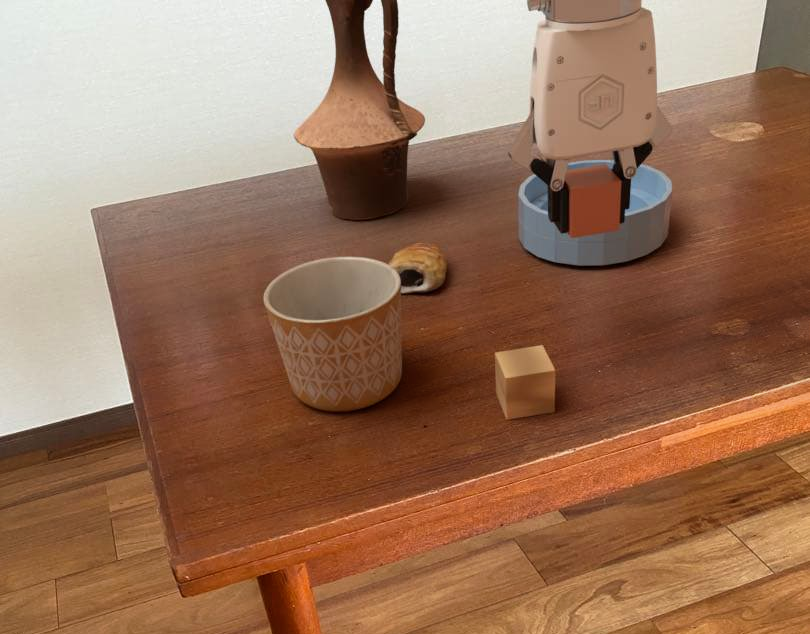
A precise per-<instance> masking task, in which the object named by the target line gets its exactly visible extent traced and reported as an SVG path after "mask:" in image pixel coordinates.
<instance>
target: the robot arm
mask: <svg viewBox="0 0 810 634" xmlns="http://www.w3.org/2000/svg"><path fill="white" fill-rule="evenodd" d="M642 1H643V0H526V6H527V10H528V11H529V12H532V11H537V12H542V14H543V15H544V17H545V19H541V20H539V21H538V23H537V27H536V32H535V36H534V37H535V38H534V45H533V51H532V61H531V70H530V71H531V73H530V84H529V85H530V86H529V103H528V106H529V107H528V116H527V118H526V120H525V122H524V123H523V125H522V127H521V128H520V130H519V131H518V133H517V135H516V137H515V138H514V139H513V142H512V144H511V145H510V147H509V149H508V152H507V153H508V156H509V158H510V159H511V161H513V162H514V163H515V164H517V165H518V166H520V167H522V168H524V169H526V170H528V171H529V172H531V173H533V174H535V175H536V176H537V177H538V178H540V179H541V180H542V181H543V182H544V183H546V184H547V185H548V218H549V220H550V222H554V224H555V225H556V227H557V228H558V230H559V231H560V233H561V234H563V233H567V231H569V191H568V189H567V188H566V186H565V177H566V172H567V168H568V164H569V163H570V159H574V158H575V159H576V158H582V157H588V156H593V155H598V154H599V155H600V154H605V153H611V155H612V160H614V165H613V169H611V170H612V171H613V172H614V173H615V175H616V176H617V177H618V178H619V179H620V180H621V201H620V222H619V224H621V223H624V221H625V210H626V209H629V207H630V192H631V178H633V177H634V176H635V175H636V173H637V168H638V167H639V166H640V165H641V164H643V163H644V162H645V161H646V159H647V158H649V156H650V155H651V154H652V152H653V151H654V149H655V148H657V147H658V146H659V145H660V144H662V142H664V141H665V140H666V139H667V138H668V137H669V136H670V135H671V134H672V133H673V127H672V125H671V123H670V121H669V120H668V119H667V117H666V115H664V112H663V111H662V110H661V109H660V107H659V105H658V73H657V71H658V69H657V68H658V67H657V51H656V48H657V47H656V36H655V35H656V34H655V27H654V26H655V25H654V19H653V12H652V11H651V10H650V9H647V8H645V7H642V4H643V3H642ZM534 144H535V145H536V147H537V149H538V151H539V153H540V154H541V155H542V156H543V157H544V158H545V160H544V159H543V158H542V157H541V156H539V155H537V154H535V153H533V152H532V151H531V149H532V147H533V145H534Z"/></svg>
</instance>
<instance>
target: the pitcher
mask: <svg viewBox="0 0 810 634" xmlns="http://www.w3.org/2000/svg"><path fill="white" fill-rule="evenodd" d="M324 1H325V4H326V5H327V8H328V11H329V14H330V18H331V19H330V20H331V23H332V29H333V34H334V35H333V36H334V44H335V45H334V46H335V58H334V59H335V61H334V68H333V73H332V76H331V77H332V78H331V80H330V84H329V87H328V89H327V92H326V94H325V96H324V98H322V101H321V102H320V104H319V105H318V106H317V107H316V109H314V111H313V112H312V113H311V114H310V115H309V116H308V117H307V118H306V119H305V120H304V121H303V122H302V124H300V125H299V126H298V127H297V128H296V130H295V131H294V134H293V137H294V140H295V141H296V143H298V144H299V145H301V146H303V147H305V148H308V149H310V150H311V151H312V153H313V156H314V158H315V160H316V163H317V167H318V170H319V173H320V178H321V179H322V182H323V186H324V190H325V193H326V197H327V202H328V207H329V211H330V213H331V214H332V215H334V216H335V217H337V218H340V219H346V220H355V221H356V220H369V219H376V218H378V217H383V216H387V215H391V214H393V213H396V212H397V211H399V210H401V209H403V208H404V207H405V206H406V205H407V203H408V201H409V194H408V155H409V154H408V152H409V144H410V141H411V140H413V139H414V138H415V137H416V136H418V132H419V131H420V130H421V129H423V127H424V125H425V123H426V118H425V117H426V116H425V115H424V114H423V113H422V112H421V111H420V110H419V109H416V108H415V107H412V106H410V105H409V104H407V103H405V102H404V101H402V99H399V98H398V95H397V91H396V75H395V74H396V73H395V67H396V58H397V53H396V52H397V51H396V50H397V43H398V35H399V21H400V20H399V19H400V18H399V3H398V0H380V2H381V8H382V23H383V24H382V25H383V28H382V30H383V38H382V45H383V49H382V54H383V55H382V69H383V70H382V74H383V76H382V79H383V82H382V81H381V80H380V78H379V77H378V75H377V73H376V72H375V69H374V67H373V66H372V63H371V61H370V57H369V55H368V54H369V53H368V49H367V44H366V43H367V42H366V36H365V35H366V34H365V14H366V11H367V10H368V9H370V7H372V3H373V1H374V0H324Z"/></svg>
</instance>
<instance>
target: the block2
mask: <svg viewBox="0 0 810 634" xmlns="http://www.w3.org/2000/svg"><path fill="white" fill-rule="evenodd" d="M565 186H566V188H567V189H568V191H569V231H567V233H568V234H569V236H570V237H571V238H576V237H582V236H588V235H594V234H599V233H605V232H611V231H617V230H619V222H620V201H621V180H620V179H619V178H618V177H617V176H616V175H615V173H614V172H613V171H612V170H611V169H610V168H609V167H608V166H607V165H606V164H602V165H596V166H591V167H585V168H579V169H573V170H567V172H566V177H565Z"/></svg>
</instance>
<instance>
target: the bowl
mask: <svg viewBox="0 0 810 634" xmlns="http://www.w3.org/2000/svg"><path fill="white" fill-rule="evenodd" d="M602 164H606V165H607V166H608V167H609V168H610V169H613V165H614V160H613V159H587V160H578V161H571V162H569V164H568V168H567V170H573V169H579V168H585V167H591V166H596V165H602ZM673 191H674V190H673V182H672V180H671V178H669V177H668V176H667V174H665V172H663V171H661V170H659V169H656V168H654V167H652V166H649V165H647V164H643V163H642V164H641V165H640V166H639V167H638V168H637V173H636V175H635V176H634V177H633V178H631V192H630V207H629V209H626V210H625V221H624V223H621V224H619V230H617V231H611V232H605V233H599V234H594V235H588V236H582V237H576V238H571V237H570V236H569V234H568V233H563V234H561V233H560V231H559V230H558V228H557V227H556V225H555V224H554V222H550V220H549V218H548V185H547V184H546V183H544V182H543V181H542V180H541V179H540V178H538V177H537V176H536V175H535V174H534V173H533V174H532V175H529V176H528V177H527V178H526V179H525V180H524V181H523V182H522V183H521V184H520V185H519V190H518V194H517V196H518V197H517V199H518V201H517V204H518V206H517V207H518V209H517V211H518V240H519V241H520V243H521V245H522V247H523V248H524V249H525V250H526V251H528V252H529V253H530V254H532V255H533V256H536V257H537V258H540V259H543V260H546V261H548V262H549V261H550V262H552V263H557V264H558V263H559V264H563V265H565V264H566V265H570V266H571V265H572V266H580V267H582V266H583V267H584V266H606V265H607V266H609V265H614V264H619V263H626V262H630V261H632V260H635V259H638V258H642V257H644V256H647V255H649V254H651V253H652V252H654V251H655V250H657V249H658V248H660V247H662V245H663V244H664V242H665V240H666V239H667V238H668V235H669V228H670V218H671V208H672V199H673Z"/></svg>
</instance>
